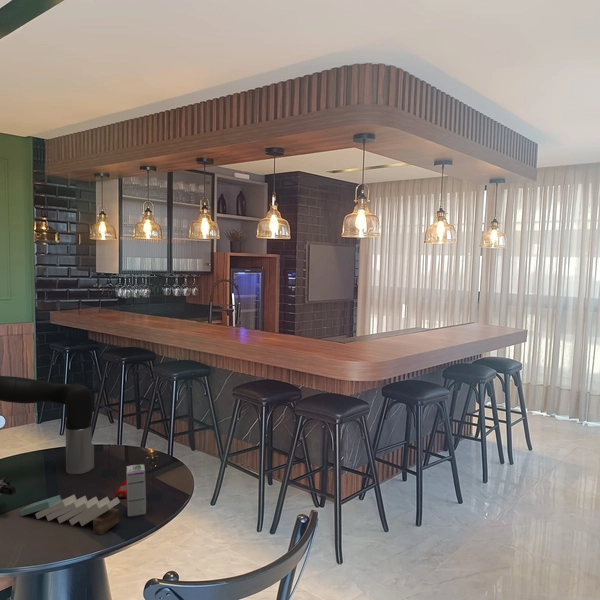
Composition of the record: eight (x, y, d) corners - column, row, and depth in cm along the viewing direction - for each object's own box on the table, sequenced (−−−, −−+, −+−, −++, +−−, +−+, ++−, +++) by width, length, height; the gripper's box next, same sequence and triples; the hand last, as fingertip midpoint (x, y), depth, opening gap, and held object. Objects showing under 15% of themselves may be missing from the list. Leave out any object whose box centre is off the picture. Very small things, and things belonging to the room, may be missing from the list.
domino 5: (68, 520, 154) (96, 503, 150) (80, 513, 158) (107, 496, 155) (71, 525, 153) (99, 508, 150) (83, 518, 158) (109, 501, 155)
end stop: (93, 532, 149) (93, 519, 149) (110, 520, 157) (110, 507, 157) (101, 534, 148) (101, 521, 148) (119, 521, 156) (118, 509, 156)
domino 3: (45, 515, 156) (73, 502, 153) (58, 508, 161) (85, 495, 157) (48, 521, 156) (76, 507, 153) (60, 514, 161) (87, 500, 157)
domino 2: (35, 513, 157) (62, 501, 154) (47, 506, 162) (74, 494, 159) (37, 519, 157) (65, 506, 154) (49, 512, 162) (76, 499, 158)
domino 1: (19, 510, 159) (47, 501, 156) (31, 504, 164) (59, 494, 160) (21, 516, 159) (49, 507, 155) (33, 509, 164) (61, 500, 160)
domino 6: (78, 521, 152) (106, 503, 149) (90, 513, 157) (117, 496, 154) (81, 526, 152) (109, 509, 149) (93, 518, 157) (120, 502, 154)
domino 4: (57, 518, 155) (84, 503, 151) (68, 510, 159) (96, 496, 156) (59, 523, 155) (87, 508, 151) (71, 516, 159) (98, 501, 156)
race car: (127, 500, 171) (127, 489, 171) (112, 499, 172) (112, 488, 172) (144, 484, 185) (144, 473, 184) (130, 483, 185) (130, 472, 185)
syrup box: (146, 514, 161) (146, 469, 160) (126, 517, 159) (126, 472, 158) (145, 506, 166) (145, 463, 166) (126, 509, 164) (126, 465, 164)
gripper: (-49, 480, 157) (-5, 487, 152) (-12, 465, 170) (30, 471, 165) (-48, 504, 158) (-5, 512, 153) (-11, 487, 170) (30, 494, 165)
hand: (13, 491), depth 159 cm, fingers closed
